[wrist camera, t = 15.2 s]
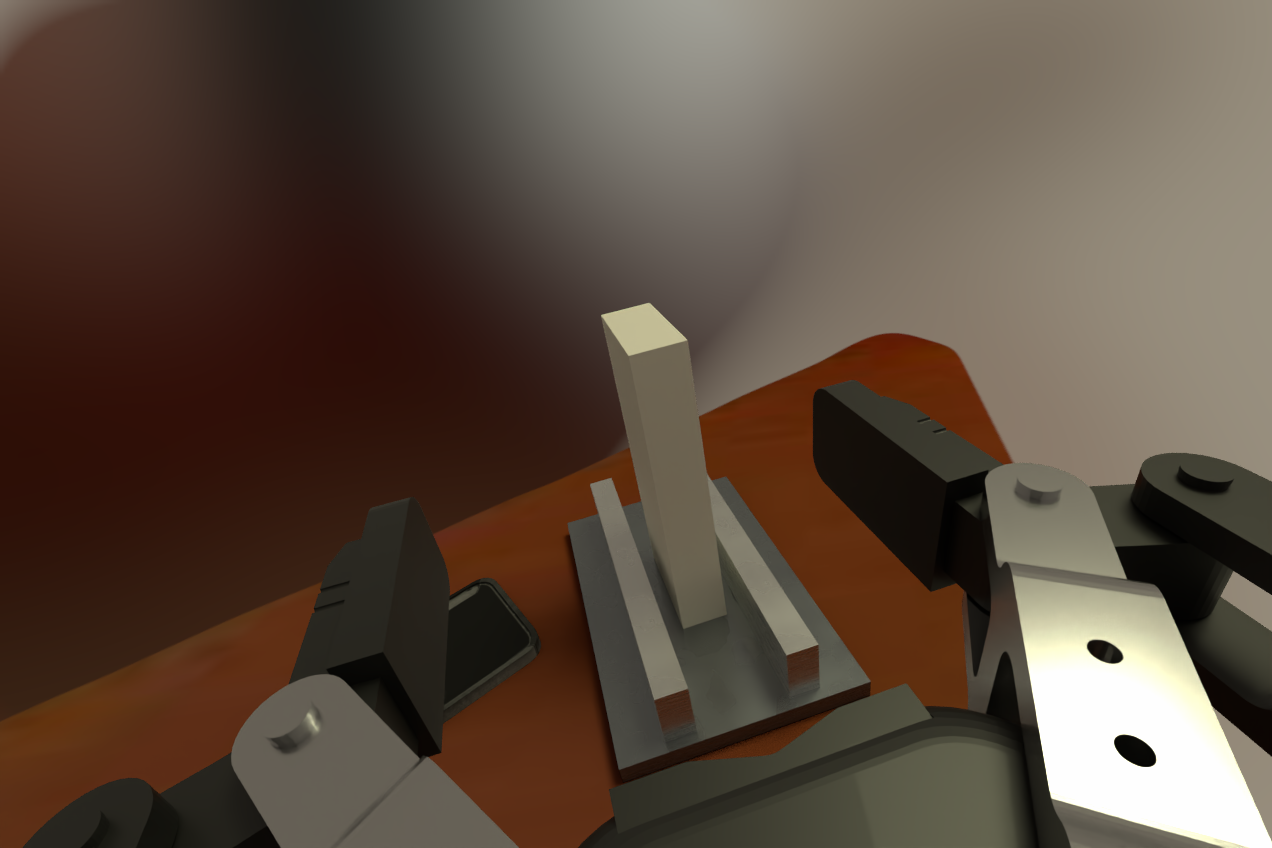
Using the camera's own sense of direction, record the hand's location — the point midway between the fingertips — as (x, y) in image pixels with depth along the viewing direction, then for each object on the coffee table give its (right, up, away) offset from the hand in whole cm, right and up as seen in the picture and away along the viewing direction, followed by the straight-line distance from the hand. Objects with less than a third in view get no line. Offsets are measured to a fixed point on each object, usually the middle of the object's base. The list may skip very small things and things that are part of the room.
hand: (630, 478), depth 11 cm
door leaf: (+3, -8, +22) cm, 24 cm away
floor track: (+3, -9, +22) cm, 24 cm away
